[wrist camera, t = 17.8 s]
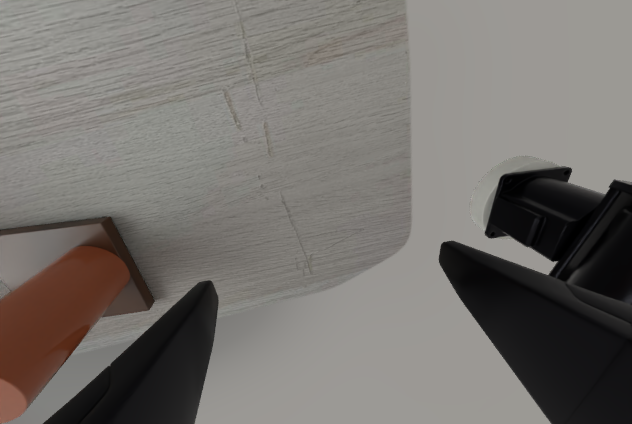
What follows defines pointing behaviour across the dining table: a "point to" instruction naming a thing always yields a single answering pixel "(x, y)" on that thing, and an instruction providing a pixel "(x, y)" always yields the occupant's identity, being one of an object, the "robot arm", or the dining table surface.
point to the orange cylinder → (52, 320)
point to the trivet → (54, 239)
